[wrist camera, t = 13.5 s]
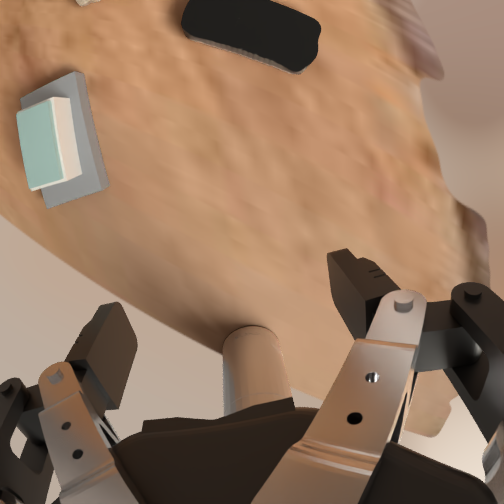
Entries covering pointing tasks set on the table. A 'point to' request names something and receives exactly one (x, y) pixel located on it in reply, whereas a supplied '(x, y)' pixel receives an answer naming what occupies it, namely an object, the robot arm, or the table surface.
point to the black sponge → (255, 31)
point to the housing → (48, 143)
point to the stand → (85, 137)
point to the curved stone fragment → (86, 2)
